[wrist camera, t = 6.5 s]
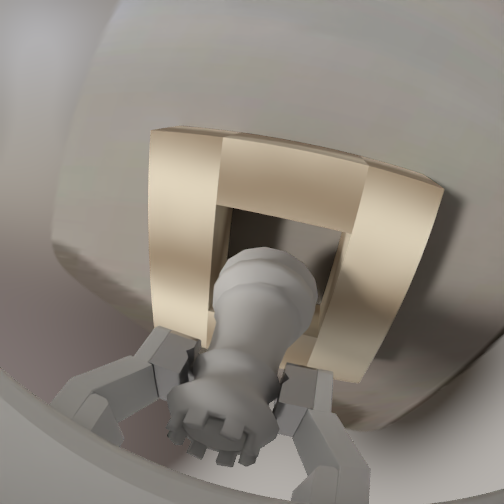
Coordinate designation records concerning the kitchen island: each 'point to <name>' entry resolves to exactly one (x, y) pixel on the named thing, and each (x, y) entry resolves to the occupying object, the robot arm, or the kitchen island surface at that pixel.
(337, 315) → the square wooden frame
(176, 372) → the robot arm
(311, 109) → the kitchen island surface
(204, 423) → the rook chess piece
